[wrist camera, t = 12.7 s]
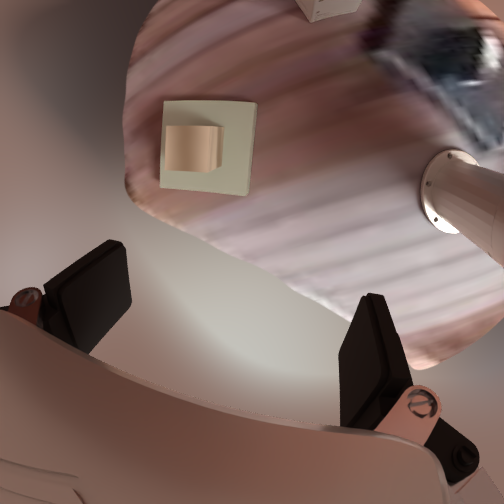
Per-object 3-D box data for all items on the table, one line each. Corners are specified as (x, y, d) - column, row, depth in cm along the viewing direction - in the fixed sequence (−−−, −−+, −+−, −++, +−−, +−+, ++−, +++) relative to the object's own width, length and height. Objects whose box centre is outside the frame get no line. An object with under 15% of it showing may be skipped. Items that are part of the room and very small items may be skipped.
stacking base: (257, 104, 31) (255, 102, 29) (248, 192, 37) (245, 196, 34) (171, 102, 33) (163, 101, 30) (167, 184, 38) (159, 187, 35)
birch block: (224, 127, 31) (210, 126, 26) (221, 166, 33) (207, 172, 28) (186, 126, 31) (166, 125, 26) (184, 163, 34) (164, 170, 28)
